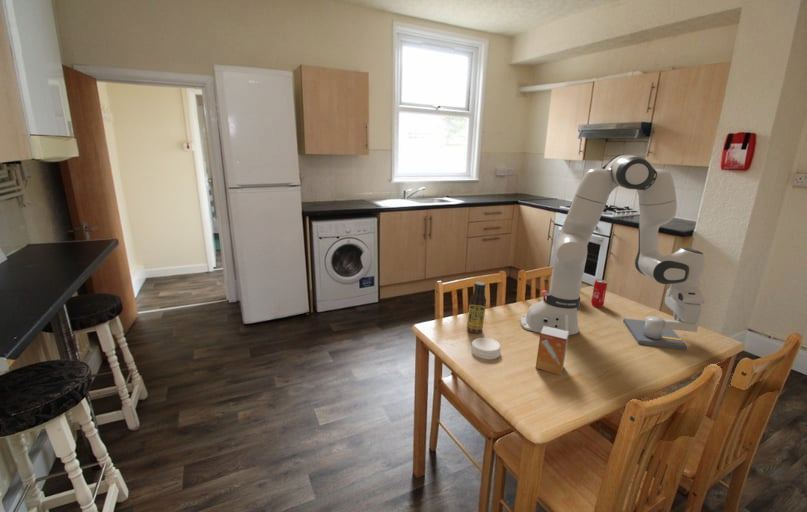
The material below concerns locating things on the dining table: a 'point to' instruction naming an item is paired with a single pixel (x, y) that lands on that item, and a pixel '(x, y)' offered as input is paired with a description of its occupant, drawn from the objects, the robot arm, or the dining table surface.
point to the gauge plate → (667, 340)
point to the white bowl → (486, 348)
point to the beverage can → (599, 293)
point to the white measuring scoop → (665, 326)
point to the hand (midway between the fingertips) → (677, 324)
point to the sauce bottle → (477, 309)
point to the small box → (552, 349)
